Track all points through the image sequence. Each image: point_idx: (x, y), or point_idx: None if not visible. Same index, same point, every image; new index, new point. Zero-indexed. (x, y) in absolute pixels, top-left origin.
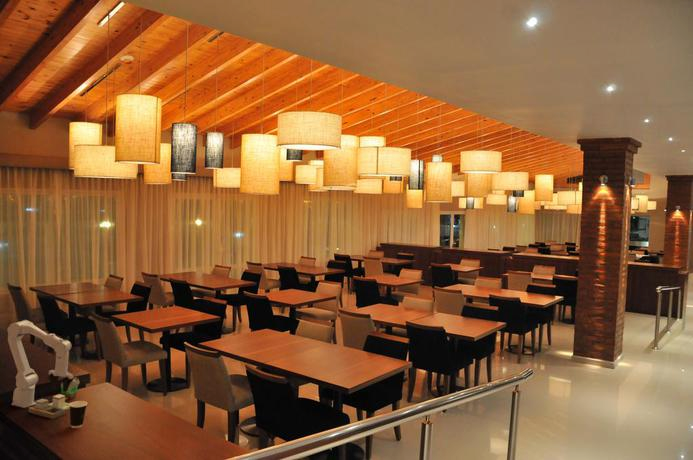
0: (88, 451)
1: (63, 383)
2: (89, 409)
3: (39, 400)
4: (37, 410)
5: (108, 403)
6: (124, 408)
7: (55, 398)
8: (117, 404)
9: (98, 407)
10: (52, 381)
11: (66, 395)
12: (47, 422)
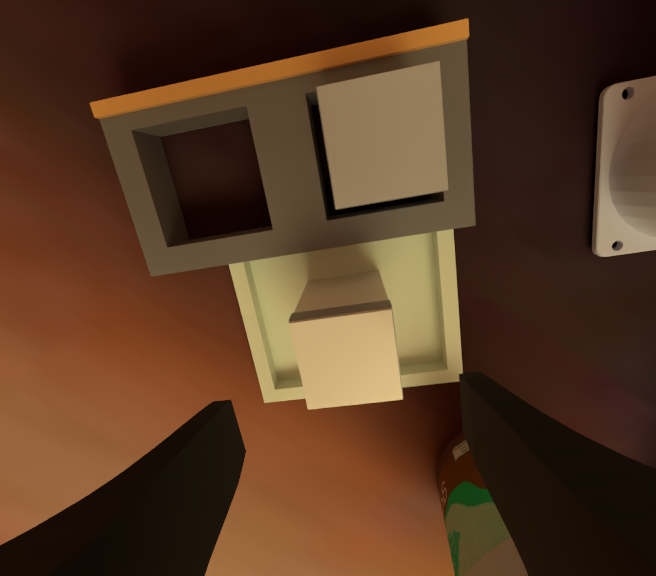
0: None
1: (86, 518)
2: (160, 428)
3: (414, 113)
4: (318, 55)
5: None
6: None
7: (343, 308)
8: None
9: None
10: (541, 476)
11: (465, 472)
12: (86, 37)
